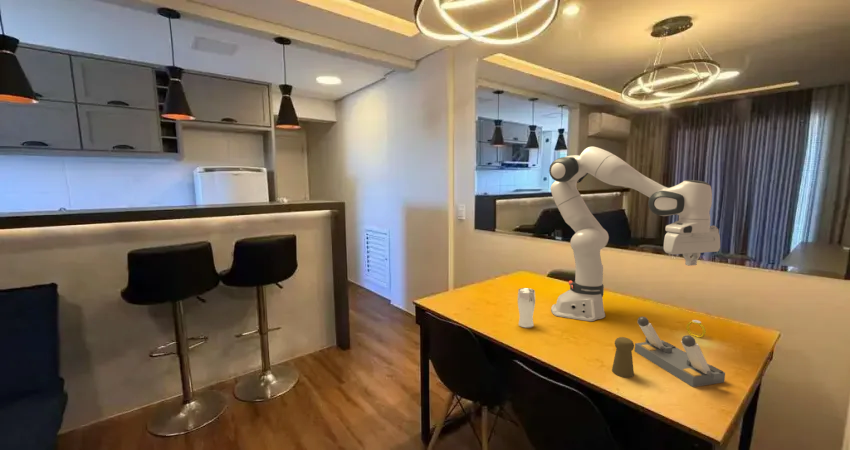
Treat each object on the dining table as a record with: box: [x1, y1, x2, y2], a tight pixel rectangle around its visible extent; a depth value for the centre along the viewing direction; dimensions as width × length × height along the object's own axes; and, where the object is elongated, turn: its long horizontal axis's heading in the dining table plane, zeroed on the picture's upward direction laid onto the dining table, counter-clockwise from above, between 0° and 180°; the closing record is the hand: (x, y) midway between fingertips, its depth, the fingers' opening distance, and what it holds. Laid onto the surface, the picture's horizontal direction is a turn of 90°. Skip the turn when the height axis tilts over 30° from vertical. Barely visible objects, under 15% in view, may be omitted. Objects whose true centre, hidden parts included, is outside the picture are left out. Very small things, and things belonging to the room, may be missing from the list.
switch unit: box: [634, 337, 726, 388], centre depth 112 cm, size 11×24×5 cm, turn 10°
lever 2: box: [680, 334, 712, 376], centre depth 103 cm, size 3×6×13 cm
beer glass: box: [517, 287, 536, 329], centre depth 147 cm, size 7×7×15 cm
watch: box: [686, 319, 707, 339], centre depth 134 cm, size 6×3×6 cm, turn 23°
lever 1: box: [637, 316, 664, 351], centre depth 119 cm, size 3×6×13 cm
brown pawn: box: [611, 336, 635, 379], centre depth 110 cm, size 6×6×11 cm
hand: (690, 265), depth 125 cm, fingers closed
